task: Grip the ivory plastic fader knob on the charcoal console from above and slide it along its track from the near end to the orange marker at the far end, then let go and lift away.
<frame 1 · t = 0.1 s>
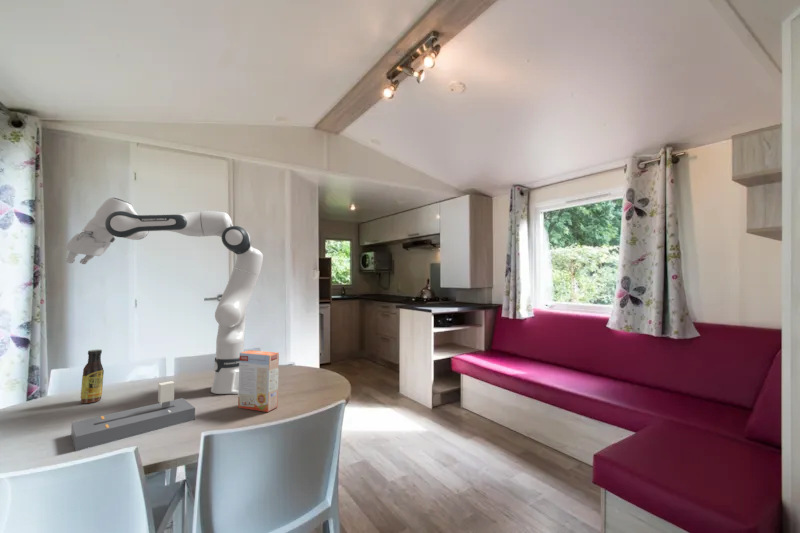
hand: (75, 263, 134), 54 cm above the table, tool tilted 30°, fingers open, 8 cm apart
cracker box: (257, 408, 129), on the table
console: (136, 426, 112), on the table
sauce bottle: (91, 401, 134), on the table
fader knob: (166, 394, 118), point 9 cm above the table, slide at -8.0 cm
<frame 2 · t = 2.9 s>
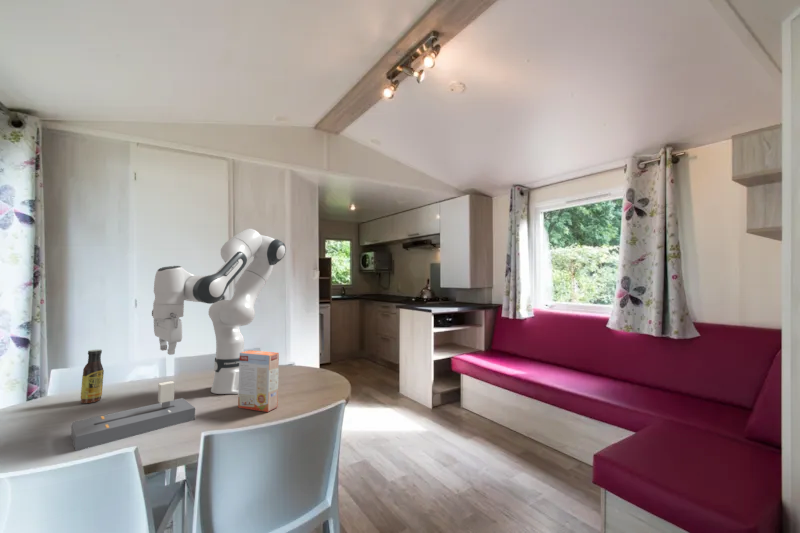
hand: (167, 352, 118), 23 cm above the table, tool pointing down, fingers open, 8 cm apart
nothing on the table moved.
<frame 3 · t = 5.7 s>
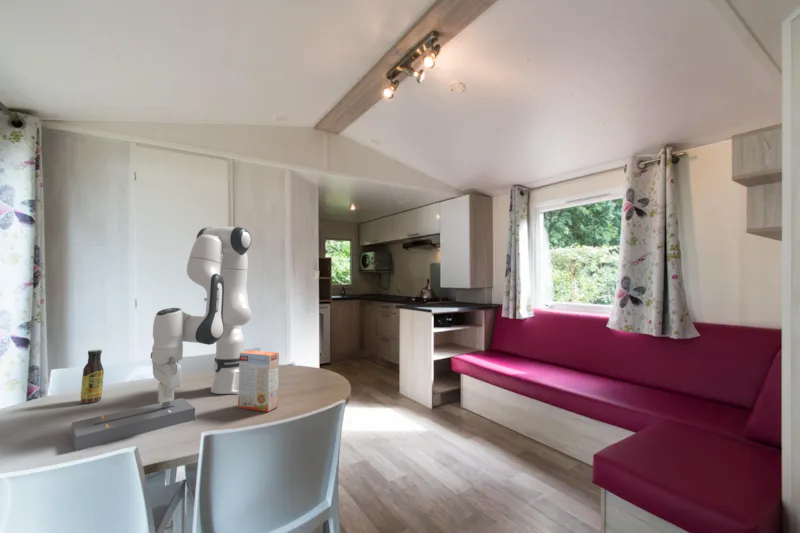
hand: (166, 395, 118), 8 cm above the table, tool pointing down, fingers closed on fader knob, 3 cm apart
fader knob: (166, 394, 118), point 9 cm above the table, slide at -8.0 cm, touching gripper
everything else where it was.
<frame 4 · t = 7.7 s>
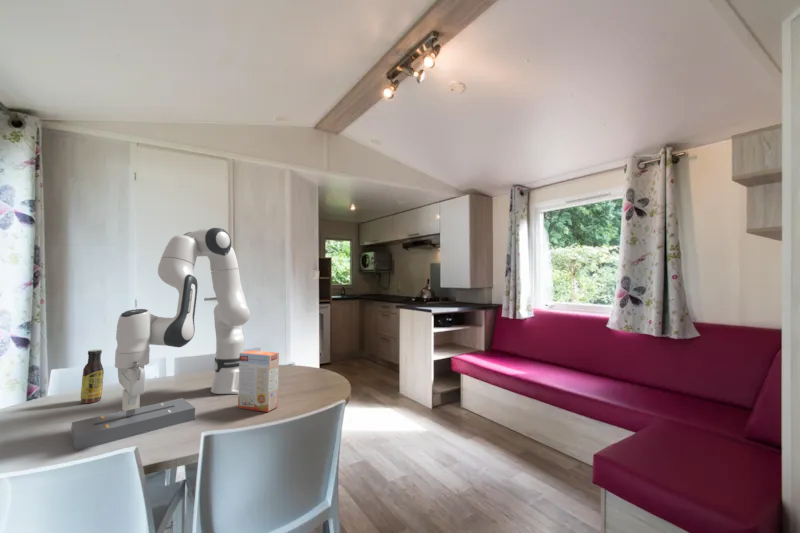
hand: (130, 402, 111), 8 cm above the table, tool pointing down, fingers closed on fader knob, 3 cm apart
fader knob: (131, 402, 111), point 9 cm above the table, slide at 1.7 cm, touching gripper
everything else where it was.
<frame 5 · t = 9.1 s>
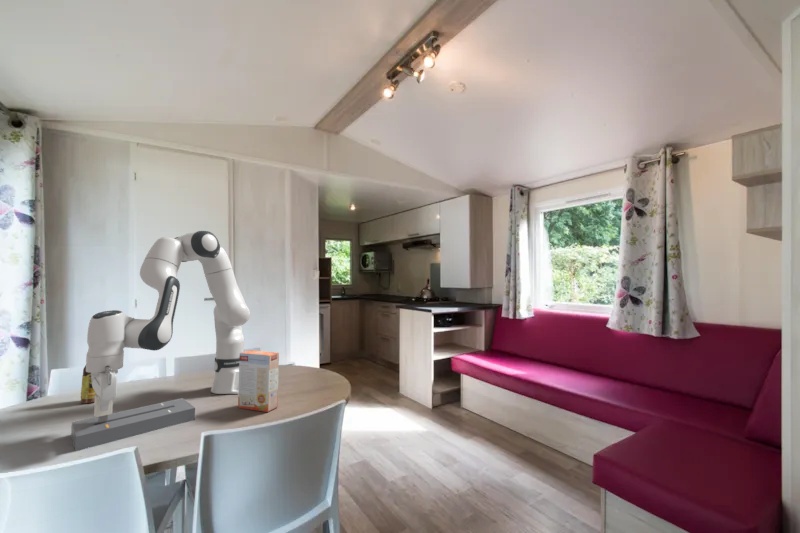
hand: (103, 408, 106), 8 cm above the table, tool pointing down, fingers closed on fader knob, 3 cm apart
fader knob: (103, 407, 106), point 9 cm above the table, slide at 8.5 cm, touching gripper
everything else where it was.
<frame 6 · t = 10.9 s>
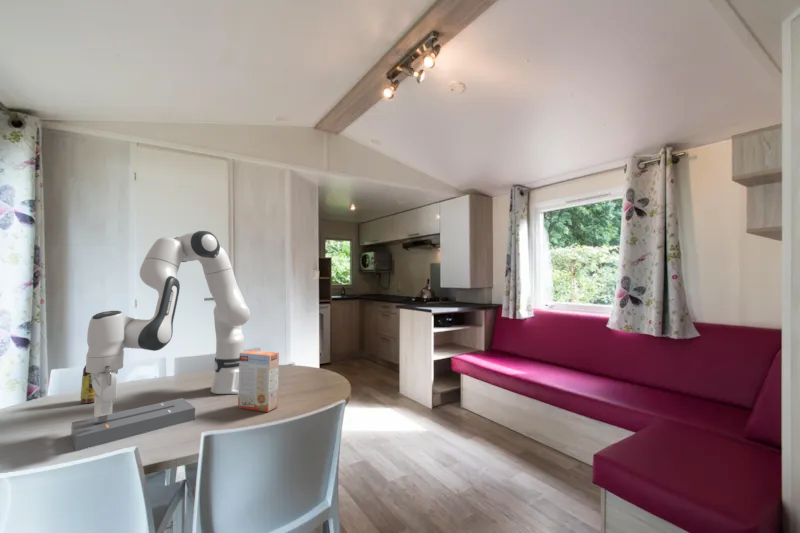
hand: (103, 408, 106), 8 cm above the table, tool pointing down, fingers open, 8 cm apart
fader knob: (103, 407, 106), point 9 cm above the table, slide at 8.5 cm
everything else where it was.
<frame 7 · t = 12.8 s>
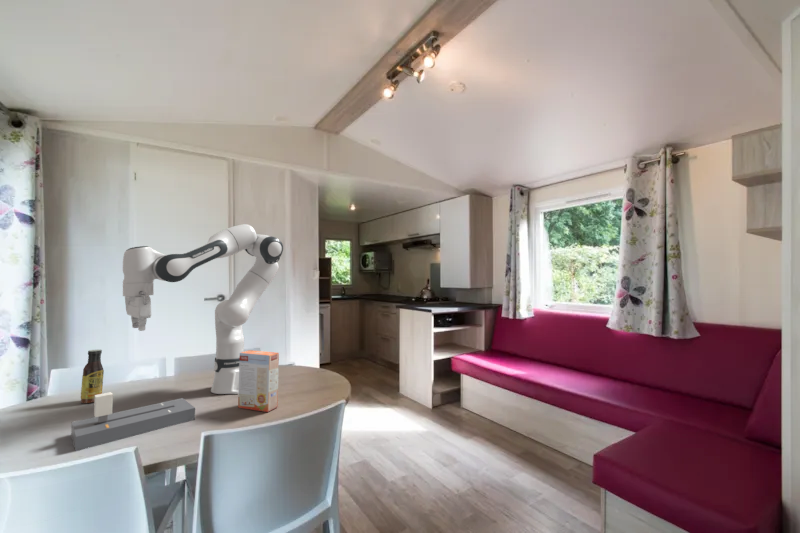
hand: (138, 329, 123), 30 cm above the table, tool pointing down, fingers open, 8 cm apart
nothing on the table moved.
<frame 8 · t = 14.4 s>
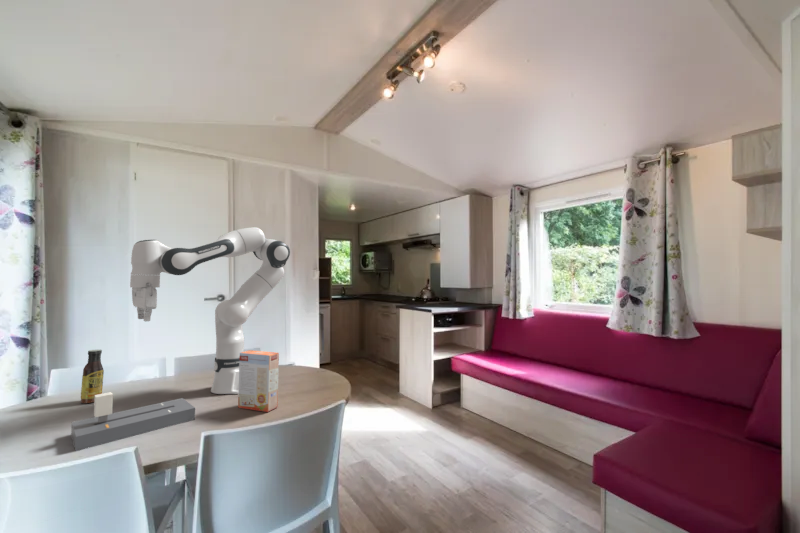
hand: (143, 320, 126), 33 cm above the table, tool pointing down, fingers open, 8 cm apart
nothing on the table moved.
at the end: fader knob slide at 8.5 cm; the gripper is holding nothing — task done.
